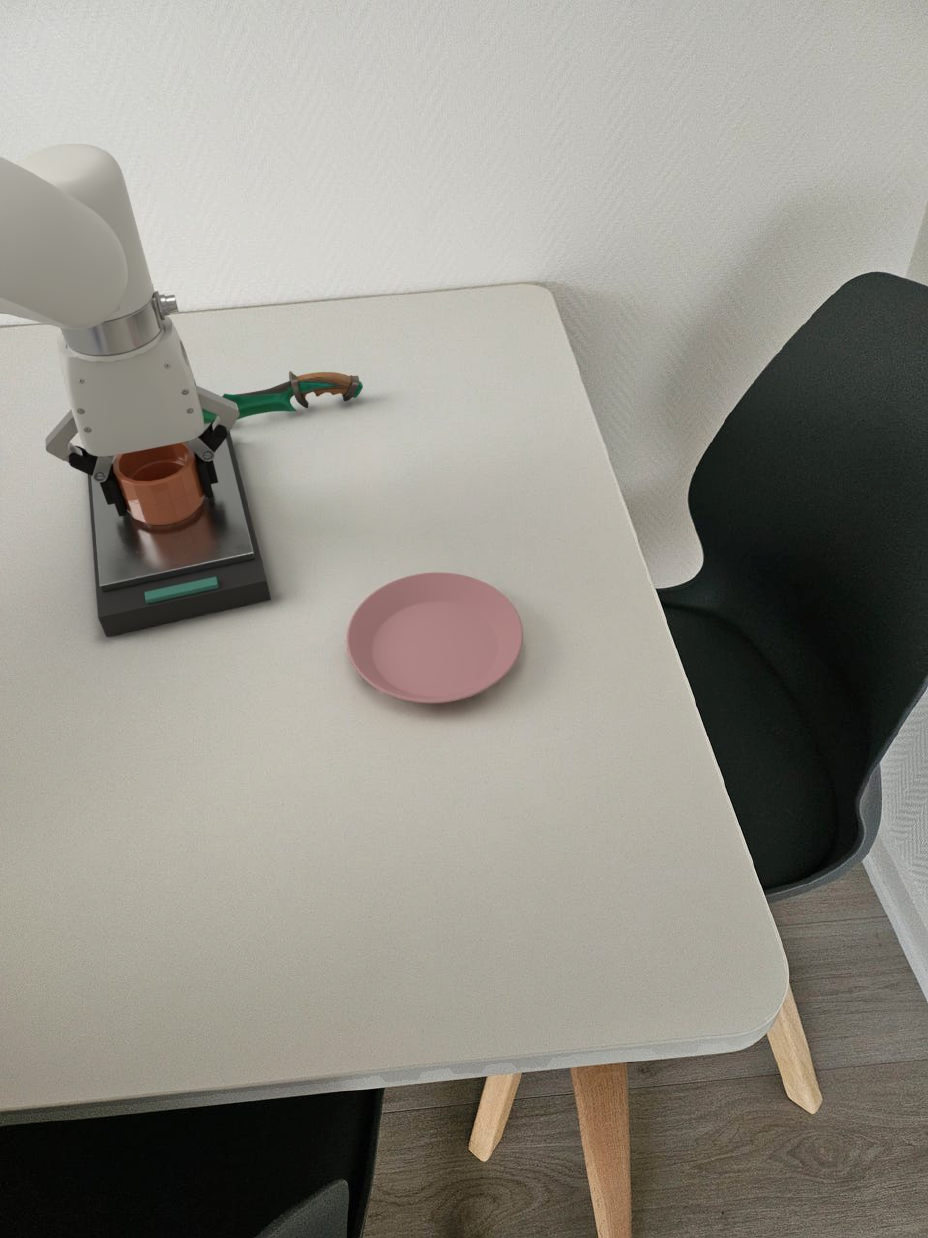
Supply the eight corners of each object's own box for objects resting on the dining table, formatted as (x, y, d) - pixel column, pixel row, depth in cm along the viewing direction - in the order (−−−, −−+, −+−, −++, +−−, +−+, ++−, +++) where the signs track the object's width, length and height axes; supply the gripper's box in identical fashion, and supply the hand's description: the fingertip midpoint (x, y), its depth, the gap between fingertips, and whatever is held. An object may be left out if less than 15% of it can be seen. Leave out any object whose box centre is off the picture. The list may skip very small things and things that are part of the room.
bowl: (131, 535, 87) (115, 491, 83) (125, 488, 91) (110, 444, 88) (210, 519, 88) (198, 474, 85) (201, 473, 93) (189, 429, 89)
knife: (361, 394, 107) (357, 354, 103) (365, 403, 106) (361, 362, 102) (163, 434, 103) (151, 393, 99) (165, 444, 101) (153, 403, 98)
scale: (106, 637, 83) (95, 610, 81) (92, 469, 99) (83, 443, 96) (271, 599, 86) (264, 573, 83) (232, 442, 101) (226, 416, 99)
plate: (319, 690, 78) (316, 674, 77) (390, 572, 88) (388, 556, 86) (489, 738, 75) (489, 722, 73) (544, 610, 84) (544, 594, 83)
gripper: (216, 279, 81) (254, 455, 94) (-6, 315, 77) (65, 492, 90) (229, 324, 76) (267, 503, 89) (-8, 365, 72) (68, 544, 85)
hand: (165, 496), depth 89 cm, fingers closed on bowl, 7 cm apart
